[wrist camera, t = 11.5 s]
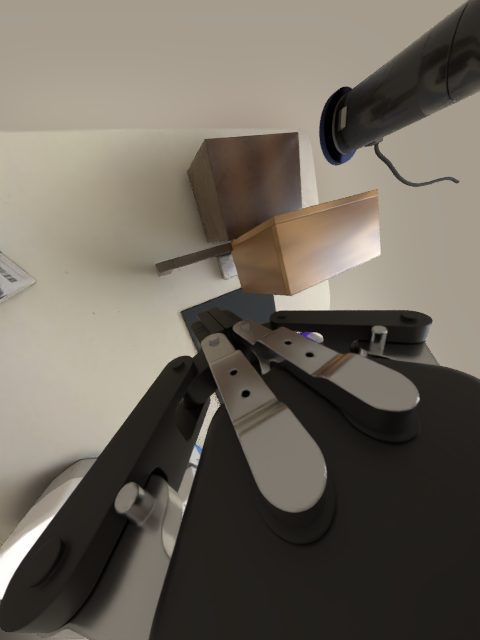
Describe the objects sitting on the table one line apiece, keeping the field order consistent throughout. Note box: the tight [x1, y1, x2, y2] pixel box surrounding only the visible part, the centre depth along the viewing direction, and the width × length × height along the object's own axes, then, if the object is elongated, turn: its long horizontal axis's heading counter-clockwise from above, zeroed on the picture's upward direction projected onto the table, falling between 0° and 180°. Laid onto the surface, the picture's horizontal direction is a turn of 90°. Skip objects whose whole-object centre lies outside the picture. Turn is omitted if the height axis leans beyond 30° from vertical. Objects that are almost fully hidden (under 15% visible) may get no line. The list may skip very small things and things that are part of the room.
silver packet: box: [217, 253, 238, 280], centre depth 33 cm, size 5×4×1 cm
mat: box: [181, 288, 276, 405], centre depth 41 cm, size 20×28×1 cm
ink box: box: [178, 444, 202, 513], centre depth 39 cm, size 8×5×12 cm, turn 26°
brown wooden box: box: [155, 189, 381, 296], centre depth 24 cm, size 22×19×7 cm
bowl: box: [0, 459, 97, 599], centre depth 31 cm, size 18×18×9 cm
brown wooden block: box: [187, 132, 302, 243], centre depth 26 cm, size 13×10×9 cm
